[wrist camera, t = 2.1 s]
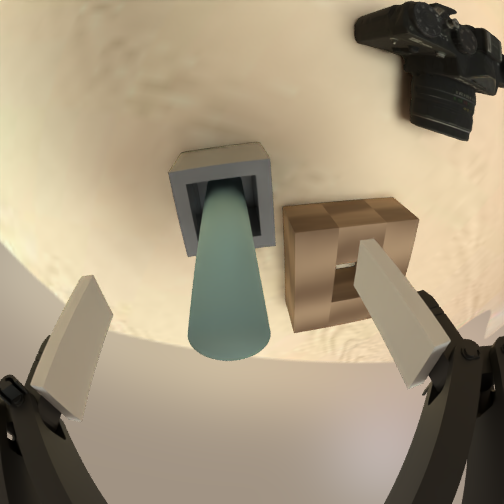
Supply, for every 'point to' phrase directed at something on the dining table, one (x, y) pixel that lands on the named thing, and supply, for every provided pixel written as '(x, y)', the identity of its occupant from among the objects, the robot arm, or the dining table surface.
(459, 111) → the camera
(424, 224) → the dining table surface
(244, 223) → the dowel
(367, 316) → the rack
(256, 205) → the pen cup
